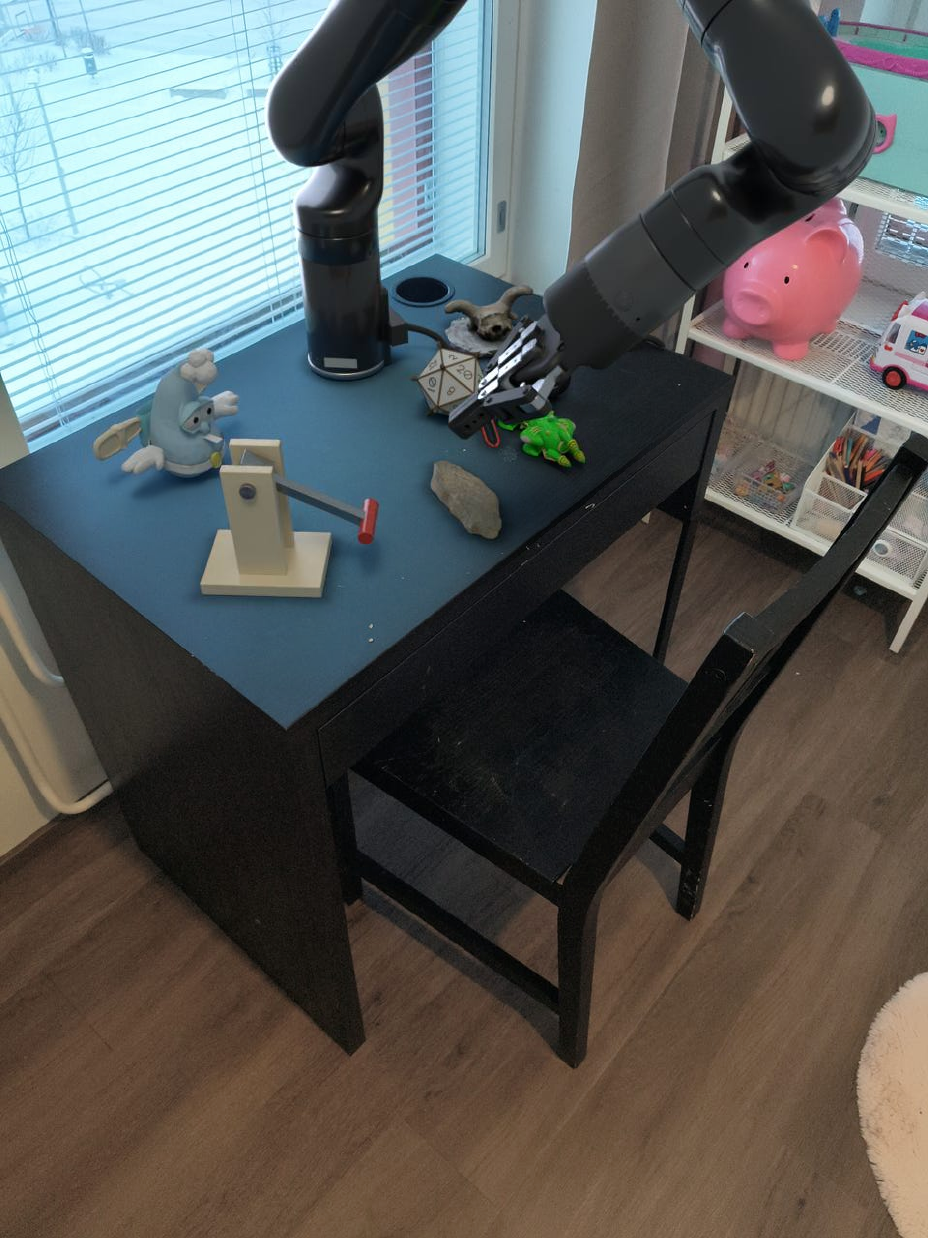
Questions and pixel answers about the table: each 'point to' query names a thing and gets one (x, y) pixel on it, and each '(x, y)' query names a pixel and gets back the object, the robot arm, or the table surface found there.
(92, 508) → the table surface
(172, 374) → the toy figure
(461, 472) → the stone
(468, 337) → the skull
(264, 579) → the lever stand
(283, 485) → the lever
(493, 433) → the red paper clip
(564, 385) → the chess piece
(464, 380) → the game die
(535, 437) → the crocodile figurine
